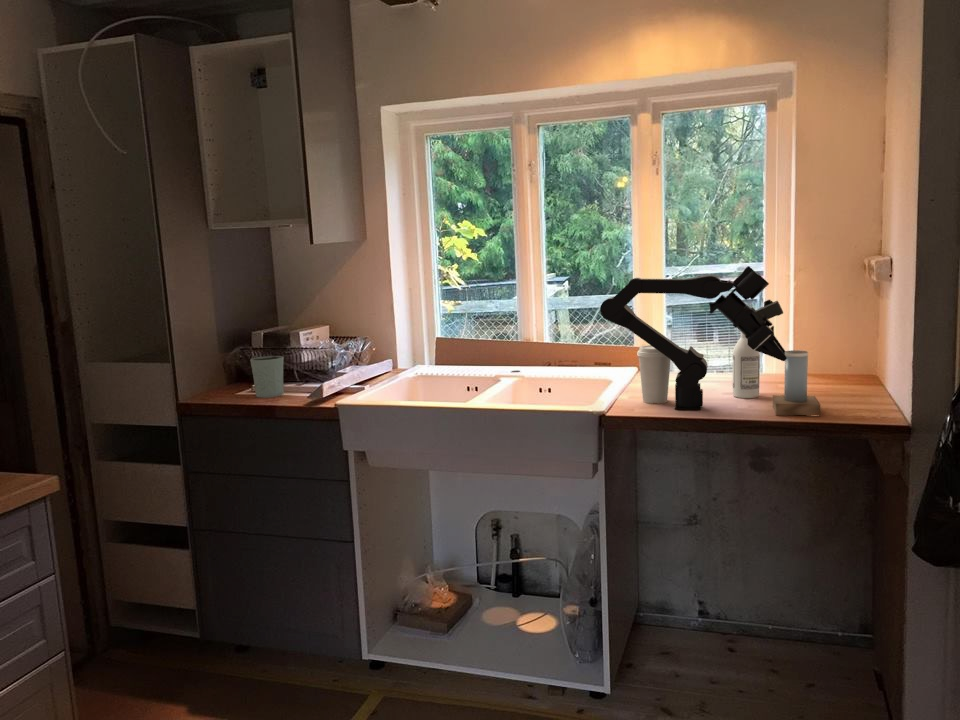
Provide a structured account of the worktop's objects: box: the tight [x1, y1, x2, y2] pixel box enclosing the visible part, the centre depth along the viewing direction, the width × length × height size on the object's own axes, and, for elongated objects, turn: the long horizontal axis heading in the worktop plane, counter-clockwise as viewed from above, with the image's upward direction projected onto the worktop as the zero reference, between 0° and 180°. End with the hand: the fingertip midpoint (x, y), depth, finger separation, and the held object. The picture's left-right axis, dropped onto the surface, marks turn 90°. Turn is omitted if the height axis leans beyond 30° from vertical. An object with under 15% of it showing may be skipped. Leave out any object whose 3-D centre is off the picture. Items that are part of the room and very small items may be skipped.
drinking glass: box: [249, 355, 285, 399], centre depth 245 cm, size 10×10×12 cm
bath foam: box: [732, 331, 761, 399], centre depth 211 cm, size 7×7×20 cm
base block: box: [772, 394, 821, 417], centre depth 192 cm, size 10×10×3 cm
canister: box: [783, 350, 809, 402], centre depth 191 cm, size 5×5×12 cm
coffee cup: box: [636, 344, 672, 404], centre depth 210 cm, size 10×10×15 cm
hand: (785, 356), depth 192 cm, fingers open, 9 cm apart
